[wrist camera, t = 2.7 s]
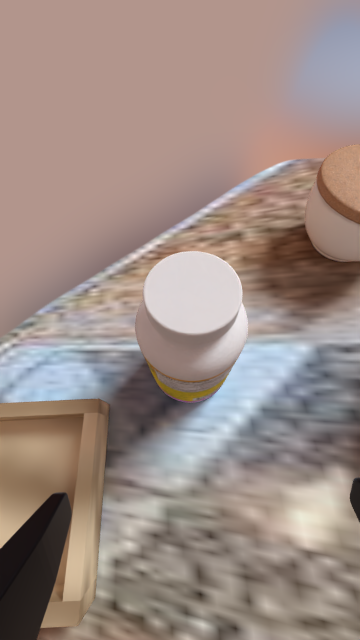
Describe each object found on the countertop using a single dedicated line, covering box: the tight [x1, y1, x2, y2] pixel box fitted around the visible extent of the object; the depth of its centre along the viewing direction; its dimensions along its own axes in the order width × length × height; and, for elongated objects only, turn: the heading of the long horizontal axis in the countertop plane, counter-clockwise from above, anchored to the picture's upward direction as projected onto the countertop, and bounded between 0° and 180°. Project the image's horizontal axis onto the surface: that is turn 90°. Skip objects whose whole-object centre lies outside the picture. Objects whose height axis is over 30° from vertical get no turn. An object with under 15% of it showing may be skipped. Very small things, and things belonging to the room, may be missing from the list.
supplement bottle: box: [135, 251, 248, 403], centre depth 18 cm, size 7×7×13 cm
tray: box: [0, 399, 110, 628], centre depth 18 cm, size 12×12×3 cm
